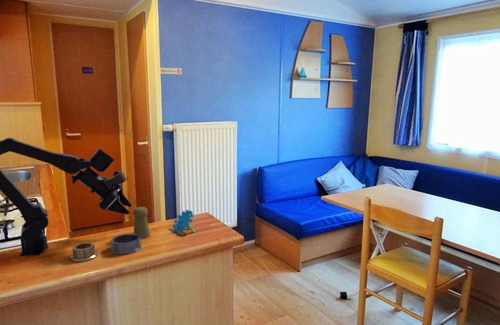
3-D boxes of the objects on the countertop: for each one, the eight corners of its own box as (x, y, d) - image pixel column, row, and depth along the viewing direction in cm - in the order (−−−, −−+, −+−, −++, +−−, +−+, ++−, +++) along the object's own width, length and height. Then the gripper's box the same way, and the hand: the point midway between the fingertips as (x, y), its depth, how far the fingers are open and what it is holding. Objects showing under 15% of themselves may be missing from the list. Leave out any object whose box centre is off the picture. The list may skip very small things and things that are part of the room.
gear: (168, 224, 138) (185, 205, 140) (178, 231, 142) (195, 212, 143) (177, 236, 129) (196, 216, 131) (188, 244, 133) (206, 224, 134)
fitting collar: (107, 255, 114) (107, 244, 113) (115, 243, 123) (114, 234, 123) (138, 253, 115) (137, 243, 114) (143, 242, 124) (143, 232, 124)
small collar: (66, 262, 108) (65, 251, 108) (76, 252, 116) (75, 241, 116) (93, 261, 109) (92, 250, 109) (101, 250, 117) (100, 240, 117)
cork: (145, 239, 127) (143, 210, 125) (130, 238, 128) (128, 209, 126) (153, 233, 132) (151, 205, 131) (138, 232, 134) (136, 205, 132)
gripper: (107, 170, 114) (144, 200, 119) (114, 161, 132) (146, 187, 137) (83, 195, 114) (121, 224, 118) (93, 182, 132) (126, 208, 136)
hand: (129, 209), depth 128 cm, fingers open, 9 cm apart
